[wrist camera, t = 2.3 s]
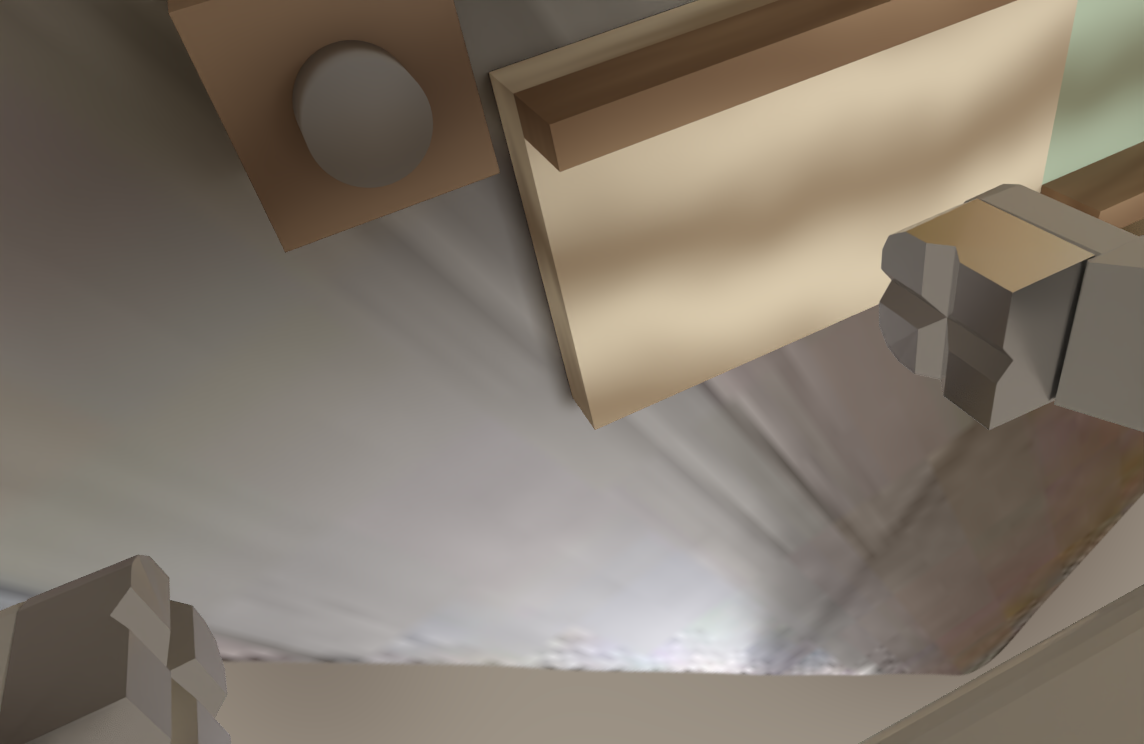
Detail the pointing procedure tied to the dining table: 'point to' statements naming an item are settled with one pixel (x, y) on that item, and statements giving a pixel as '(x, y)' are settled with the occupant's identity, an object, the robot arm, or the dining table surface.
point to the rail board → (794, 163)
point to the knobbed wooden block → (340, 104)
